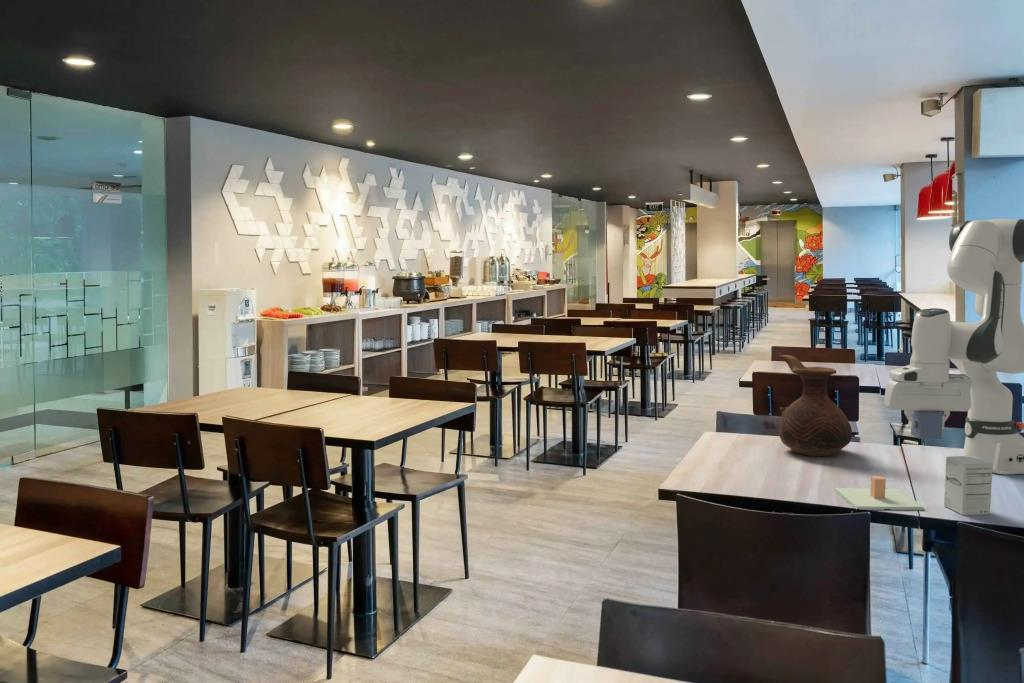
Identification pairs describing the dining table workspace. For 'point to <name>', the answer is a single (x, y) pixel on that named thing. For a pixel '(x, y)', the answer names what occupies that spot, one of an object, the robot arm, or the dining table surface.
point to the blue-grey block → (927, 424)
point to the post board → (878, 504)
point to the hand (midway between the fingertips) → (926, 427)
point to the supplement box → (968, 485)
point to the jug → (813, 415)
